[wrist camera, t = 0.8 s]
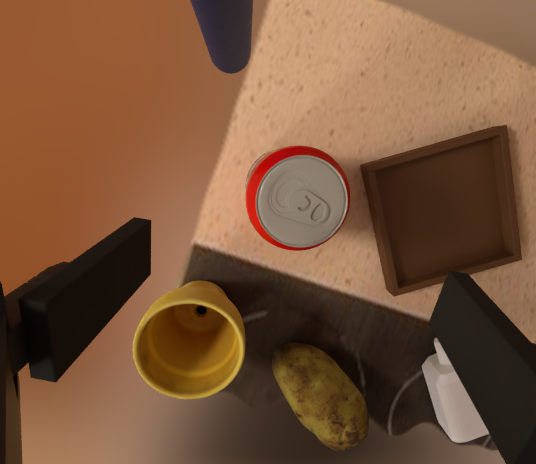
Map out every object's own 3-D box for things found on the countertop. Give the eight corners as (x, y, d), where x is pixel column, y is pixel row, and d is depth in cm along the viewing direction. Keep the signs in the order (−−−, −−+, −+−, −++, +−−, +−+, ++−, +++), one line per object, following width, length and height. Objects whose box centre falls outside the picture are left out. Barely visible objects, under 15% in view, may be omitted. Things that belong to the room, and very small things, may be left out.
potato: (324, 316, 42) (342, 352, 34) (362, 397, 45) (387, 447, 37) (263, 344, 42) (267, 387, 34) (305, 423, 45) (317, 478, 37)
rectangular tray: (359, 164, 38) (366, 165, 36) (493, 126, 38) (507, 124, 36) (386, 289, 42) (393, 296, 40) (508, 254, 42) (522, 259, 40)
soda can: (289, 232, 39) (315, 277, 25) (232, 195, 38) (223, 218, 23) (328, 175, 38) (380, 187, 24) (271, 135, 37) (288, 120, 22)
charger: (475, 297, 43) (499, 393, 46) (406, 322, 43) (434, 417, 46) (503, 314, 38) (527, 420, 41) (425, 342, 38) (455, 446, 42)
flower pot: (259, 325, 42) (263, 375, 32) (182, 358, 42) (163, 417, 32) (223, 251, 39) (216, 281, 30) (142, 286, 40) (109, 327, 30)
